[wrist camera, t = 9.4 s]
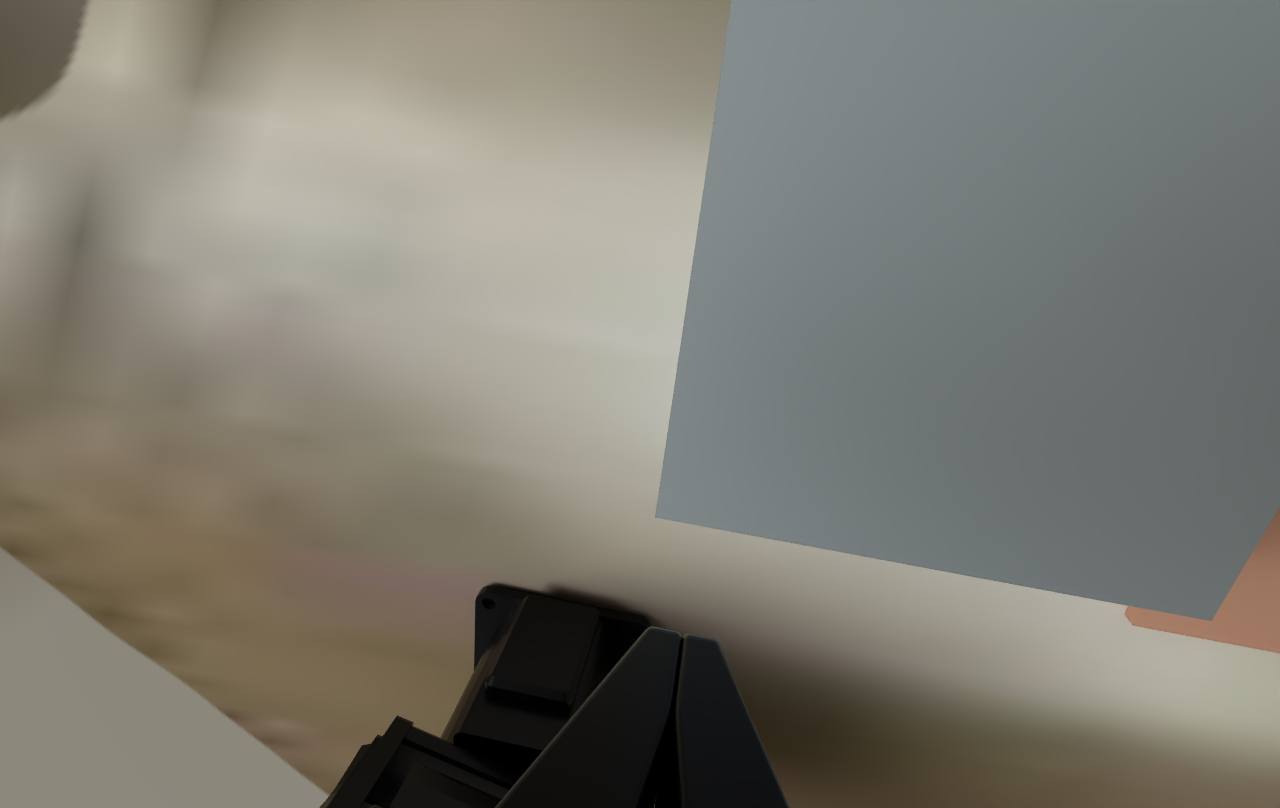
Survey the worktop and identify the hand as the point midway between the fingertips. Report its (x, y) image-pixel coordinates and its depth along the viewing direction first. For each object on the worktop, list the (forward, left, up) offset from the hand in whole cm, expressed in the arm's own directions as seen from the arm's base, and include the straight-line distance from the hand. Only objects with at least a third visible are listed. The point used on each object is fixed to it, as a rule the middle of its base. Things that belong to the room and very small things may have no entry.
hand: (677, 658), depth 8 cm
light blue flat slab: (+3, -6, -13) cm, 15 cm away
